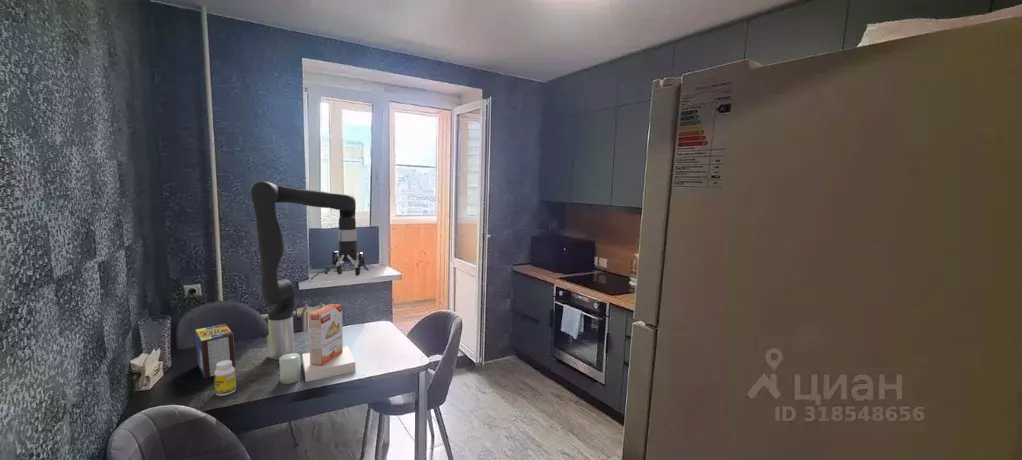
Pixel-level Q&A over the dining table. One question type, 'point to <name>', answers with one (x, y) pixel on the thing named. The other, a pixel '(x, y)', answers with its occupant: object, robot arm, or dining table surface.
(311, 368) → the block
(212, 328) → the protein box
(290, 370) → the pale green rounded block
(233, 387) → the pill bottle
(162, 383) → the dining table surface
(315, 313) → the cracker box
